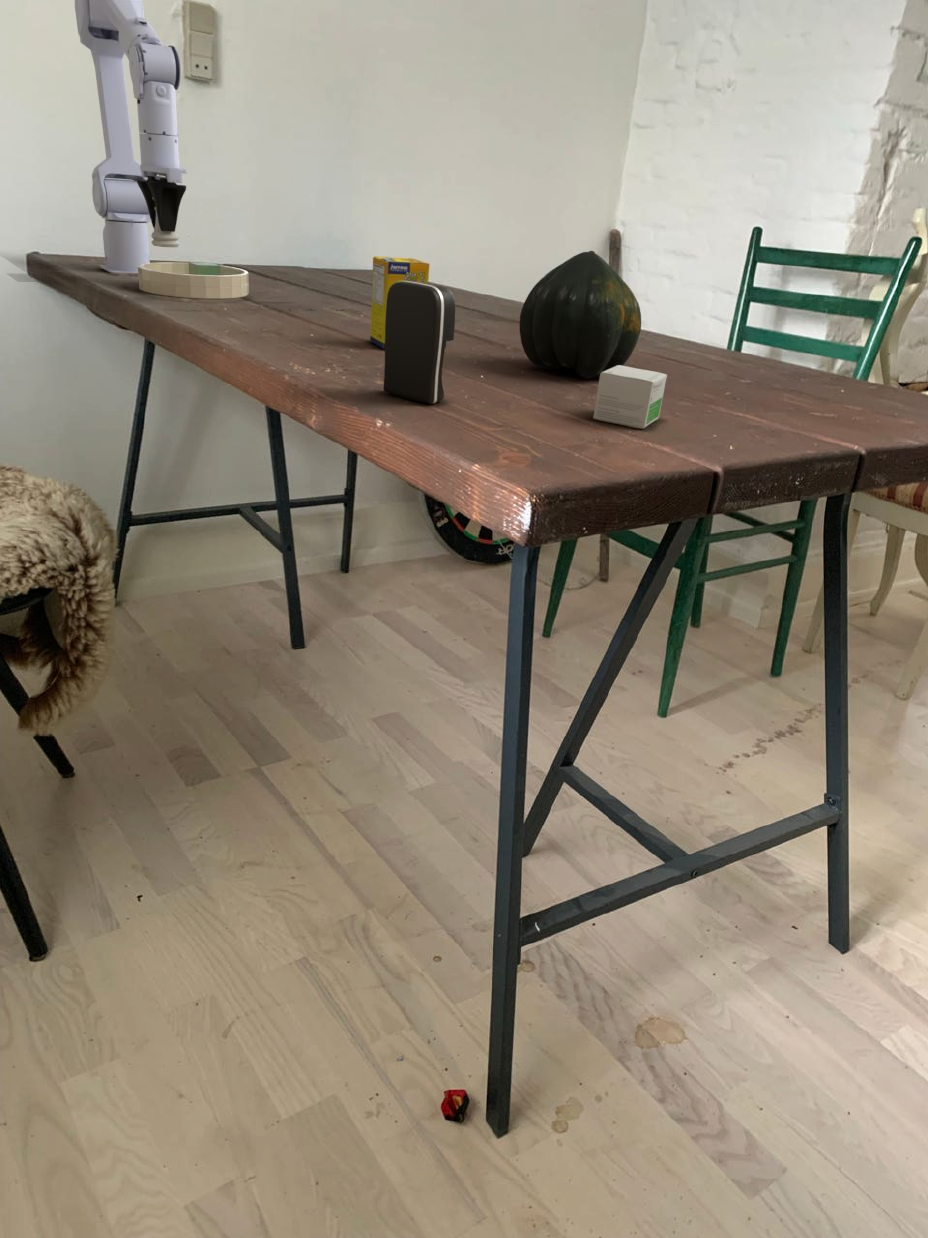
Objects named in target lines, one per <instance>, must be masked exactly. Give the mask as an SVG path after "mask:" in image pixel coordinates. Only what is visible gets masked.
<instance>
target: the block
mask: <svg viewBox="0 0 928 1238" xmlns="http://www.w3.org/2000/svg"><path fill="white" fill-rule="evenodd" d="M188 263H189V275H215V276H221V270H220V266H221V264H220V265H219V264H217V263H214V262H208V261H207V262H202V261H201V262H200V261H188Z"/></svg>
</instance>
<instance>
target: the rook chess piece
mask: <svg viewBox="0 0 928 1238" xmlns="http://www.w3.org/2000/svg"><path fill="white" fill-rule="evenodd" d="M152 198H153V197H152ZM153 200H154V199H153ZM154 209H155V210H156V207H155V208H154ZM150 237H151V238H152V239H153V240H151V242H150V243H151V245H152V246H154V247H158V248H159V247H160V248H178V247H179V246H180V242H179V241H178V240H179V239H180V236H179V234H178V233H177V230H176V229H175V232H170V231H161V229H160V226H159V222H158V217H157V211H156V224H155V228H153V232H151V235H150Z"/></svg>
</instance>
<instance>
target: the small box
mask: <svg viewBox="0 0 928 1238" xmlns="http://www.w3.org/2000/svg"><path fill="white" fill-rule="evenodd" d="M667 378H668V374H666V373H664V372H663V373H662V372H659V371H653V370H648V369H642V368H636V367H631V366H628V365H627V366H626V365H623V366H621V365H617V366H615V367H613V368H611V369H608V370H606V371H604V372H602V373H601V374H600V375H599V379H598V384H597V392H596V398H595V404H594V412H593V416H592V418H593V419H594V420H596V421H601V422H605V423H611V424H616V425H621V426H625V427H630V428H635V429H641V430H644V429H645V428H646V427H648V426H649V425H651V424H652V423H654V422H655V421H657V420H659V417H660V414H661V408H662V403H663V398H664V394H665V387H666V383H667Z"/></svg>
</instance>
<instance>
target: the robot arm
mask: <svg viewBox="0 0 928 1238" xmlns="http://www.w3.org/2000/svg"><path fill="white" fill-rule="evenodd" d="M144 9H145V8H144V4H143V0H74V12H75V20H76V27H77V34H78V37H79V39H80V43H81V44H82V45H83V46H84V47H86V48H87V49H88V50H89V51H90V53H91V58H92V61H93V65H94V72H95V79H96V87H97V95H98V104H99V112H100V119H101V127H102V134H103V135H102V136H103V142H104V151H105V157H106V158H105V159H103V160H102V161H101V162H100V163H98V164H97V165H95V167H94V168H93V170H92V173H91V179H92V180H91V183H92V187H91V194H92V195H91V196H92V203H93V207H94V210H95V212H96V213H97V214H98V215H99V216H100V217H101V219H104V227H103V229H102V242H103V253H104V264H100V265H99V268H100V269H102V270H104V271H106V272H108V273H110V274H138V265H140V264H144V263H151V260H150V243H149V230H148V229H149V227H148V223H150V222H151V225H152V228H153V229H154V228H155V224H156V211H157V217H158V222H159V226H160V229H161V231H170V232H176V231H175V230H176V228H177V222H178V216H179V210H180V206H181V202H182V199H183V197H184V194H186V193H185V192H186V191H187V185H184V184H183V174H188V169H187V168H184V167H180V153H179V152H180V151H179V131H178V113H177V92H176V91H178V89H179V87H180V84H181V77H182V76H181V74H182V73H181V72H182V71H181V70H182V69H181V60H180V56H179V53H178V50H177V48H176V46H175V45H171V44H170V45H167V46H166V45H165V44H163V42H162V41H161V38H160V37H159V35H158V34H157V33H156V31H155V30H154V28H153V26H152V25H151V24H150V23H149V22H148V20H147V18H145V11H144ZM125 56H126V58H127V59H128V66H129V67H128V68H129V74H130V80H131V83H132V91H133V92H132V93H133V98H134V99H136V104H137V105H136V107H137V122H138V135H139V136H138V137H139V138H138V139H139V151H140V153H139V155H140V162H138V161H137V159H136V158H135V151H134V143H133V134H132V126H131V125H132V124H131V119H130V109H129V102H128V93H127V85H126V75H125V68H124V58H125ZM152 197H153V198H152ZM153 199H154V200H153ZM155 207H156V210H155V209H154V208H155Z"/></svg>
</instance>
